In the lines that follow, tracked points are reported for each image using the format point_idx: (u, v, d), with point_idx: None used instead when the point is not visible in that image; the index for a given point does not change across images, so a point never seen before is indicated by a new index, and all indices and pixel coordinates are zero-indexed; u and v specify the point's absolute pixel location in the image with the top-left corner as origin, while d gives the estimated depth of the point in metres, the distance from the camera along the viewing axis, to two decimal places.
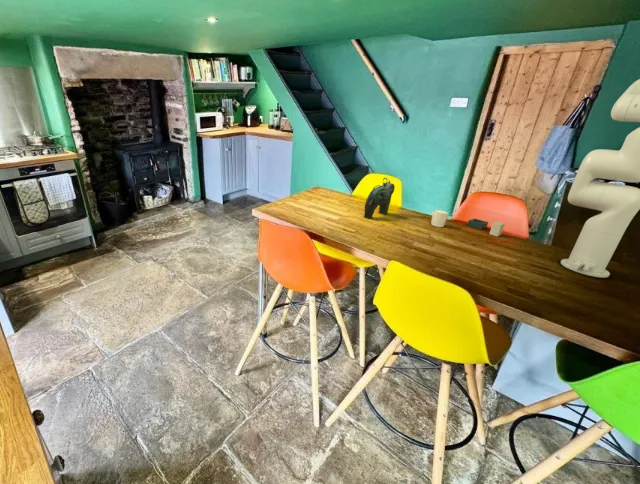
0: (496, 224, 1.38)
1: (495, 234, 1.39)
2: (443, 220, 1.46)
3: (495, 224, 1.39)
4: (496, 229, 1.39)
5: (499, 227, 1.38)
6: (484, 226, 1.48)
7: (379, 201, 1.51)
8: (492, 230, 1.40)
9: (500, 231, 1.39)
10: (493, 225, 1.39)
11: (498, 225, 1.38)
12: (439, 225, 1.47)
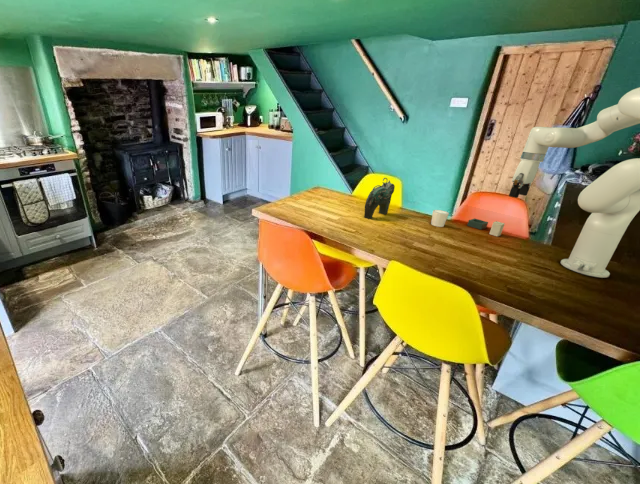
0: (496, 224, 1.38)
1: (495, 234, 1.39)
2: (443, 220, 1.46)
3: (495, 224, 1.39)
4: (496, 229, 1.39)
5: (499, 227, 1.38)
6: (484, 226, 1.48)
7: (379, 201, 1.51)
8: (492, 230, 1.40)
9: (500, 231, 1.39)
10: (493, 225, 1.39)
11: (498, 225, 1.38)
12: (439, 225, 1.47)
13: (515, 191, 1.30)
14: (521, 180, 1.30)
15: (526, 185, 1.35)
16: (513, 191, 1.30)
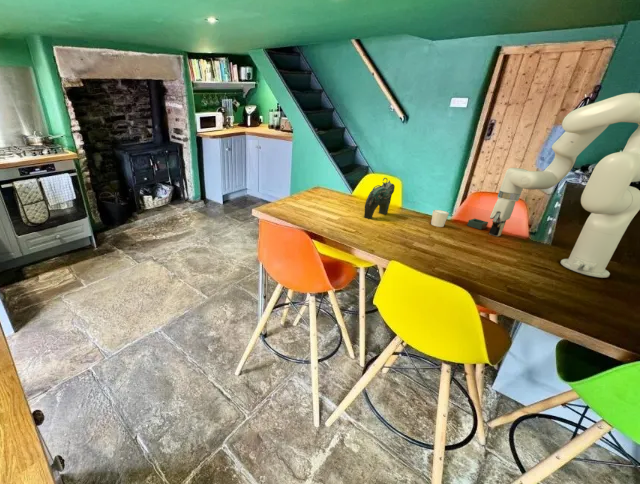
0: None
1: None
2: (443, 220, 1.46)
3: None
4: None
5: None
6: (484, 226, 1.48)
7: (379, 201, 1.51)
8: None
9: (500, 231, 1.39)
10: None
11: None
12: (439, 225, 1.47)
13: (495, 229, 1.38)
14: None
15: None
16: (493, 229, 1.39)
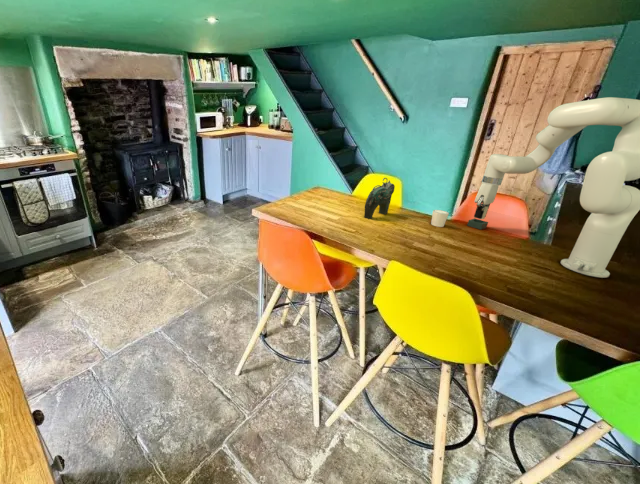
0: None
1: None
2: (443, 220, 1.46)
3: None
4: None
5: (483, 210, 1.46)
6: (484, 226, 1.48)
7: (379, 201, 1.51)
8: None
9: (484, 214, 1.47)
10: None
11: None
12: (439, 225, 1.47)
13: (479, 213, 1.46)
14: None
15: None
16: (477, 212, 1.47)
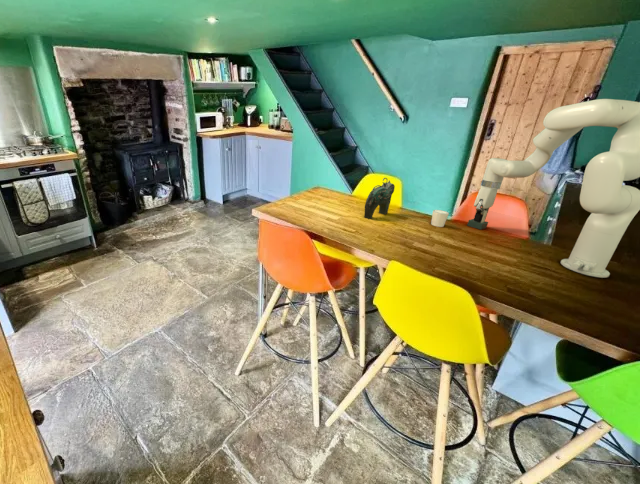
0: None
1: None
2: (443, 220, 1.46)
3: None
4: None
5: None
6: (484, 226, 1.48)
7: (379, 201, 1.51)
8: None
9: (483, 218, 1.47)
10: None
11: None
12: (439, 225, 1.47)
13: (478, 216, 1.47)
14: None
15: None
16: (477, 216, 1.47)
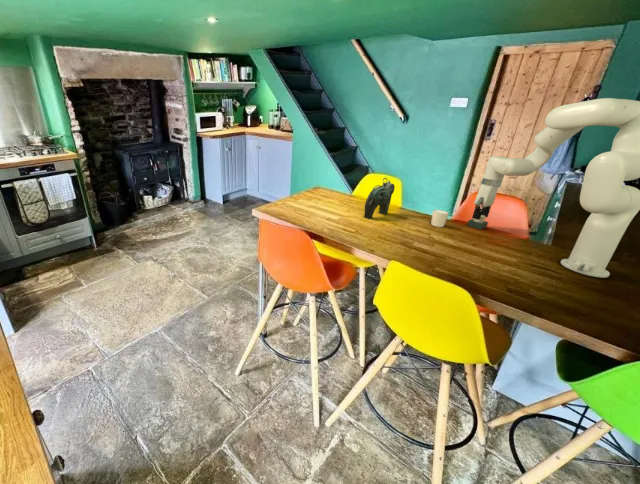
0: None
1: None
2: (443, 220, 1.46)
3: None
4: (478, 221, 1.48)
5: (480, 219, 1.47)
6: (484, 226, 1.48)
7: (379, 201, 1.51)
8: None
9: None
10: None
11: (480, 217, 1.47)
12: (439, 225, 1.47)
13: (477, 214, 1.45)
14: (482, 203, 1.44)
15: (486, 208, 1.49)
16: (475, 214, 1.46)
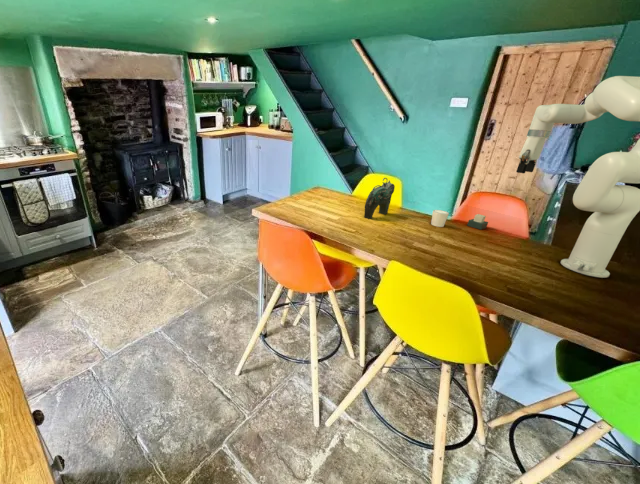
0: (478, 217, 1.48)
1: None
2: (443, 220, 1.46)
3: (477, 217, 1.48)
4: (478, 221, 1.48)
5: (480, 219, 1.47)
6: (484, 226, 1.48)
7: (379, 201, 1.51)
8: None
9: None
10: (475, 218, 1.49)
11: (480, 217, 1.47)
12: (439, 225, 1.47)
13: (522, 167, 1.37)
14: (528, 156, 1.37)
15: (532, 162, 1.42)
16: (520, 167, 1.37)
